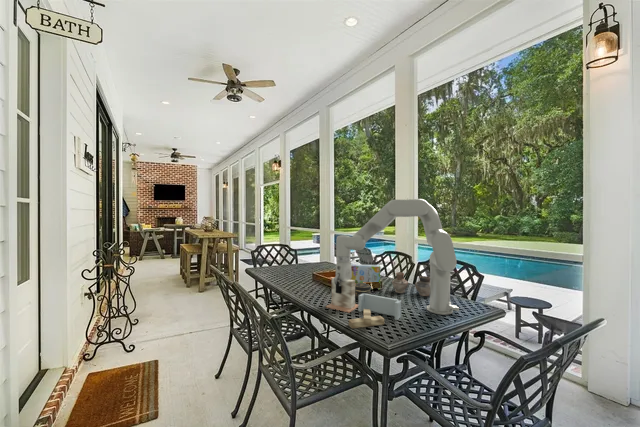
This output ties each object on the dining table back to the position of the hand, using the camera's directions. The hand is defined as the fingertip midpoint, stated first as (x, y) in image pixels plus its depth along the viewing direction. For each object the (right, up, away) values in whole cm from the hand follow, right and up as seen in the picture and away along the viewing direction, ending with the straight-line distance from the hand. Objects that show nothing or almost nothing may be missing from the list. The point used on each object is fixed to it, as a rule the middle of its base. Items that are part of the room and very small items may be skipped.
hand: (343, 290), depth 160 cm
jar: (+12, -8, +15) cm, 21 cm away
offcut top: (+9, -7, -23) cm, 26 cm away
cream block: (0, -8, 0) cm, 8 cm away
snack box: (+16, -8, +35) cm, 39 cm away
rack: (+17, -9, -10) cm, 22 cm away
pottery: (+44, -8, +25) cm, 51 cm away
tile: (0, -9, 0) cm, 9 cm away
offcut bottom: (+9, -10, -23) cm, 26 cm away
